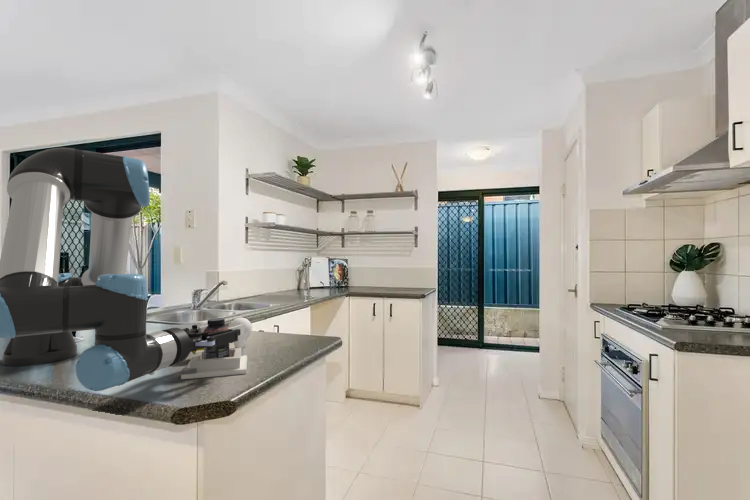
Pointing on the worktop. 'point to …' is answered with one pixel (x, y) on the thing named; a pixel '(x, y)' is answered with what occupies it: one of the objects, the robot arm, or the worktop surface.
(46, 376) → the worktop surface
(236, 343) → the lightbulb
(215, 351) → the supplement bottle
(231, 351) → the socket
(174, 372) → the worktop surface
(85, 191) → the robot arm
